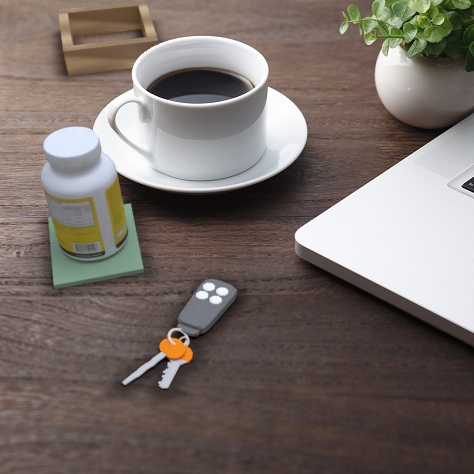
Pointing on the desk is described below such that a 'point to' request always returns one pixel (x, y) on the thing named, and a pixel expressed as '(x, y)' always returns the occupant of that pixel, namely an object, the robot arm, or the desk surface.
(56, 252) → the green mat
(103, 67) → the brown shallow square frame
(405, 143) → the desk surface
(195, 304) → the key chain
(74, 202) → the pill bottle
